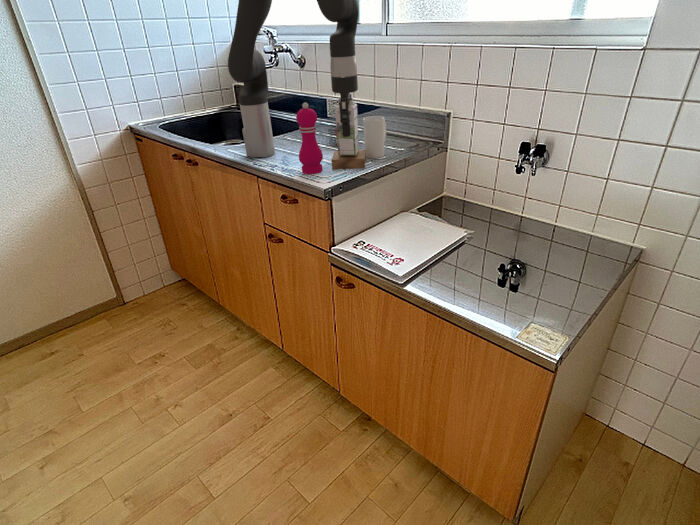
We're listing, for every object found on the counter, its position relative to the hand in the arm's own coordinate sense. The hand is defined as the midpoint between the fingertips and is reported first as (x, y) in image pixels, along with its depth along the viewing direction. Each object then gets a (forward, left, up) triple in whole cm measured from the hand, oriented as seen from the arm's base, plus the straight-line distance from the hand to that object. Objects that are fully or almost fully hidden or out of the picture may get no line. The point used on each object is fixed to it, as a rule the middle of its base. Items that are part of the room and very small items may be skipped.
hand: (347, 133), depth 129 cm
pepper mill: (-11, -6, -10) cm, 16 cm away
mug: (+9, +9, -10) cm, 16 cm away
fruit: (-3, +26, -10) cm, 28 cm away
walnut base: (0, 0, -9) cm, 10 cm away
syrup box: (0, 0, -6) cm, 6 cm away
